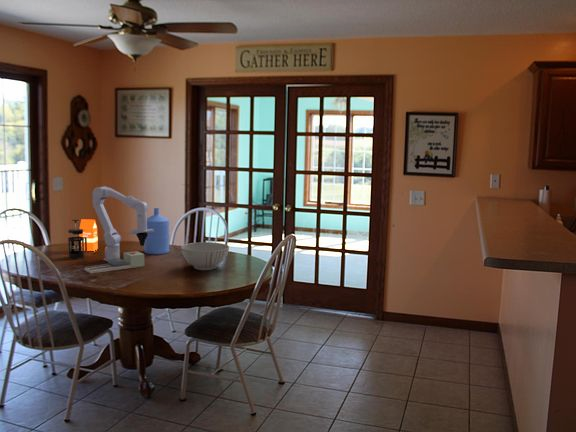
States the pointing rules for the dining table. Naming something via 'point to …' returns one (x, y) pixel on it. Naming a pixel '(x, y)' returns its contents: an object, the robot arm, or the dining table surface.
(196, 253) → the decorative bowl
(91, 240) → the orange juice
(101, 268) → the track
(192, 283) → the dining table surface
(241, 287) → the dining table surface
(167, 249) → the water jug
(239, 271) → the dining table surface
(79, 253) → the french press
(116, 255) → the carriage
